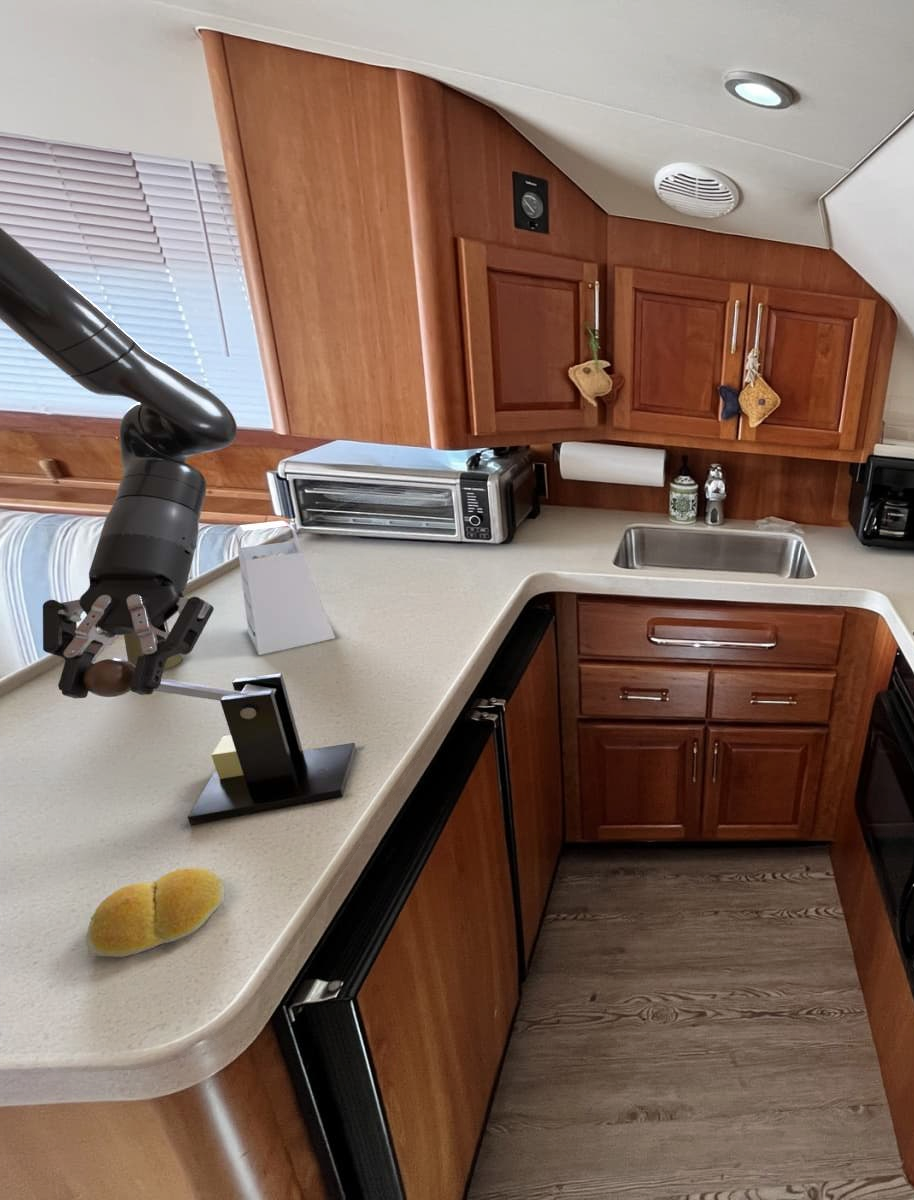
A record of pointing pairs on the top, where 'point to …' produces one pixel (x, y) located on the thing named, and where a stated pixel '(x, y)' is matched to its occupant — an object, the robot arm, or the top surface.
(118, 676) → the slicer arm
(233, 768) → the butter
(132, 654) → the cork
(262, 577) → the grater
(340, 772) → the slicer
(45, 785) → the top surface
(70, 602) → the robot arm
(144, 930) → the bread roll
